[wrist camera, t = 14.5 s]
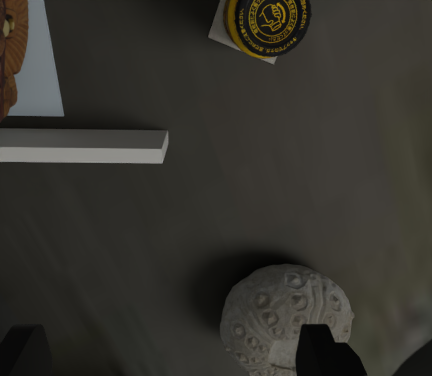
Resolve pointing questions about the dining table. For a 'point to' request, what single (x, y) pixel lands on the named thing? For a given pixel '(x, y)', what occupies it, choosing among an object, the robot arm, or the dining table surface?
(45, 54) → the pad
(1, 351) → the robot arm
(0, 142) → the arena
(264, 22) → the condiment
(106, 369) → the dining table surface
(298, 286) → the decorative shell
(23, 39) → the wooden carving
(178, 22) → the dining table surface
